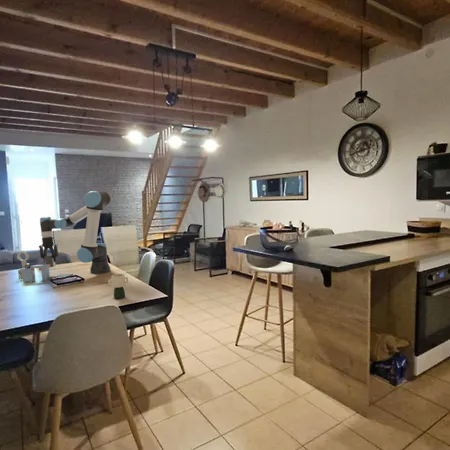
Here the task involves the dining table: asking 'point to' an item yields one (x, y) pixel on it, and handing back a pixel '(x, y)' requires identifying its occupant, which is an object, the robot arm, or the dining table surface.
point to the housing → (30, 272)
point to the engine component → (22, 262)
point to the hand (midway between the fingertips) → (50, 266)
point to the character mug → (118, 285)
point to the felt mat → (63, 275)
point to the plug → (48, 261)
